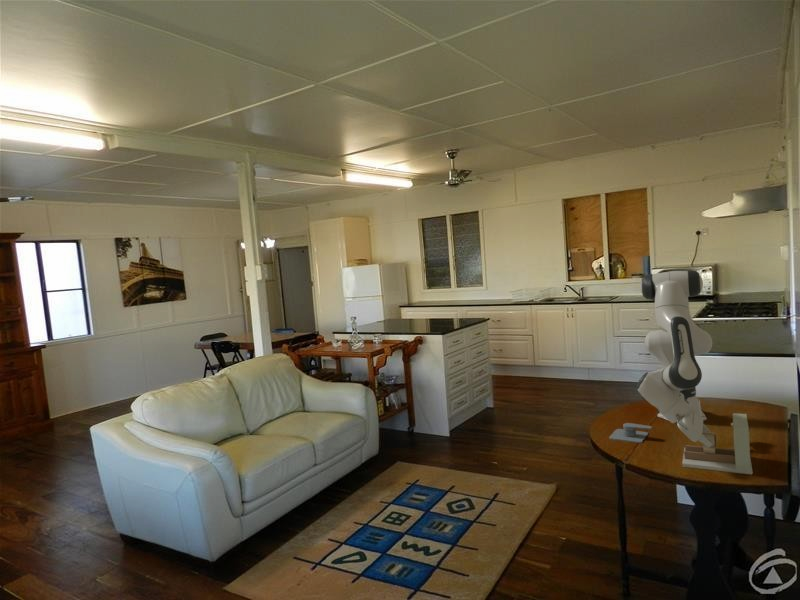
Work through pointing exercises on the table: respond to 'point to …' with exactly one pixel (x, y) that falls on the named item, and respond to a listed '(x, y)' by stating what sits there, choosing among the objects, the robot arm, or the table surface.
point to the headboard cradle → (724, 452)
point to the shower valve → (630, 433)
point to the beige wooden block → (713, 439)
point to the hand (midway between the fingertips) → (710, 440)
